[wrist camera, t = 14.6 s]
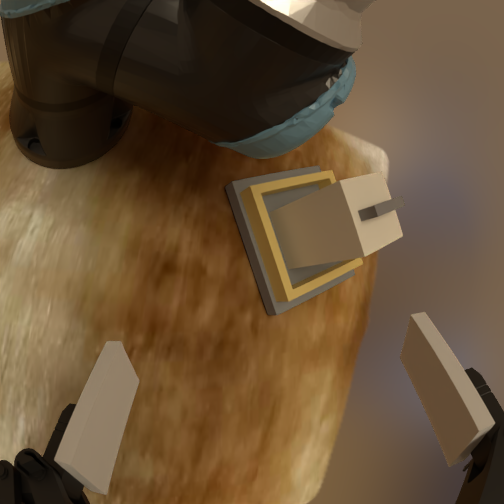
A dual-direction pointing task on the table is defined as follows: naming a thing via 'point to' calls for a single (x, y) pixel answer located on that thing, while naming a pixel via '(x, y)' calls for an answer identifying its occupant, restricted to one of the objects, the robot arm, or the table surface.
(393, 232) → the beige rectangular block
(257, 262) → the tray
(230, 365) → the table surface
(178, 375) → the table surface
